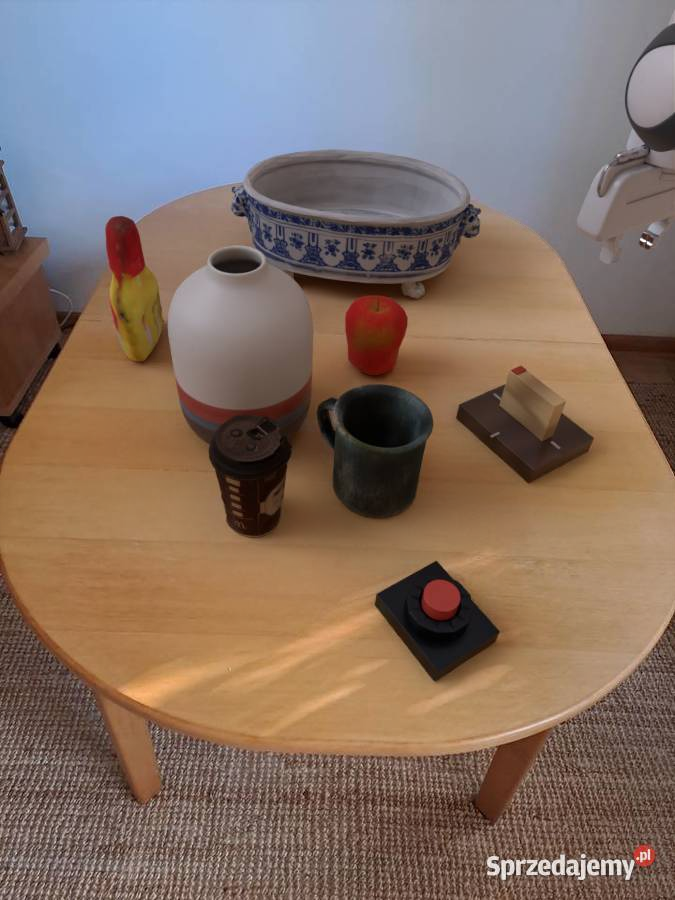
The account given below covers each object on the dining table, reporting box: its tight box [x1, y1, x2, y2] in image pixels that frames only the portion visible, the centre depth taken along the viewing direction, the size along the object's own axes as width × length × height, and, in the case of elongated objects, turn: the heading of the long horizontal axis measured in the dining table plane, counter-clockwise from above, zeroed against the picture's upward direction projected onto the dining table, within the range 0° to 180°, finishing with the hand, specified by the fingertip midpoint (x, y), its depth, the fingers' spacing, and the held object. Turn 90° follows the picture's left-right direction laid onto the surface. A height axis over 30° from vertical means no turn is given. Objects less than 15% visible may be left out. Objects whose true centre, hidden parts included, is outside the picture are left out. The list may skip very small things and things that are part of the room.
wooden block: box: [499, 365, 567, 441], centre depth 86 cm, size 8×2×6 cm, turn 33°
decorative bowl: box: [230, 149, 482, 300], centre depth 114 cm, size 42×27×15 cm, turn 85°
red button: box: [421, 580, 460, 621], centre depth 66 cm, size 4×4×2 cm
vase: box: [167, 244, 314, 445], centre depth 81 cm, size 17×17×24 cm
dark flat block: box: [455, 383, 595, 484], centre depth 89 cm, size 14×12×3 cm
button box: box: [374, 560, 501, 683], centre depth 68 cm, size 10×8×4 cm
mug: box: [316, 383, 435, 518], centre depth 78 cm, size 11×15×12 cm
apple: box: [344, 294, 409, 376], centre depth 94 cm, size 9×8×12 cm
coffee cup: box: [208, 414, 293, 538], centre depth 73 cm, size 9×8×13 cm
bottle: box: [104, 215, 165, 362], centre depth 93 cm, size 12×6×20 cm, turn 179°
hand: (627, 253), depth 83 cm, fingers open, 6 cm apart
